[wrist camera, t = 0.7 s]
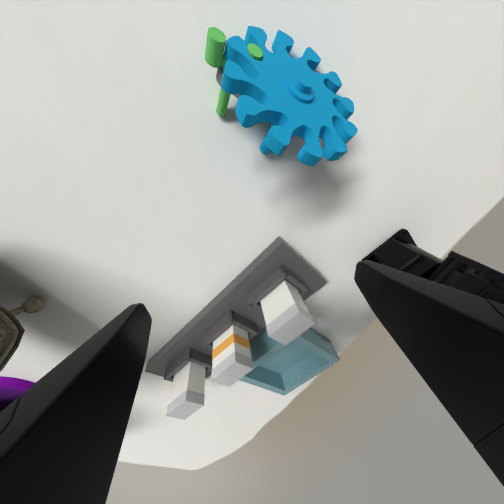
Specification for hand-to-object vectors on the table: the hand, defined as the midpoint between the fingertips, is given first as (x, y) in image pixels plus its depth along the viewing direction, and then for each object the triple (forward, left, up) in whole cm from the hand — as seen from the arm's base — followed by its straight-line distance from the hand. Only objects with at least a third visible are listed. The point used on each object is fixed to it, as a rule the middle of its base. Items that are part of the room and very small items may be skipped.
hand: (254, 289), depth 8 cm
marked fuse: (-11, +13, -12) cm, 21 cm away
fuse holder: (-11, +13, -13) cm, 22 cm away
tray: (-23, +13, -13) cm, 30 cm away
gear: (+3, -8, -14) cm, 16 cm away
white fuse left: (-11, +22, -12) cm, 28 cm away
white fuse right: (-11, +4, -12) cm, 17 cm away
